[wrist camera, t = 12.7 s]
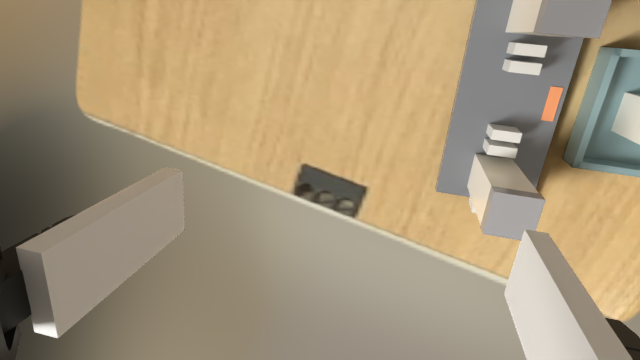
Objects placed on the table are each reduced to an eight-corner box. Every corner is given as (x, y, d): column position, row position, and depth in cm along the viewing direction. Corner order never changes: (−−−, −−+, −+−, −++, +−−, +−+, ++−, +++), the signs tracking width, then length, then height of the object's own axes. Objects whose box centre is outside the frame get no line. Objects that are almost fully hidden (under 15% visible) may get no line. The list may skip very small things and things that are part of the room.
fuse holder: (483, -34, 34) (491, -42, 30) (598, -26, 32) (620, -33, 29) (434, 192, 41) (436, 206, 38) (525, 207, 40) (535, 223, 36)
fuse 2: (515, -13, 33) (555, -30, 23) (561, -9, 32) (620, -26, 23) (504, 32, 34) (538, 32, 25) (548, 37, 33) (599, 38, 24)
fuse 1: (474, 153, 38) (494, 191, 29) (513, 158, 37) (545, 200, 28) (466, 186, 39) (482, 233, 30) (503, 192, 39) (531, 242, 29)
